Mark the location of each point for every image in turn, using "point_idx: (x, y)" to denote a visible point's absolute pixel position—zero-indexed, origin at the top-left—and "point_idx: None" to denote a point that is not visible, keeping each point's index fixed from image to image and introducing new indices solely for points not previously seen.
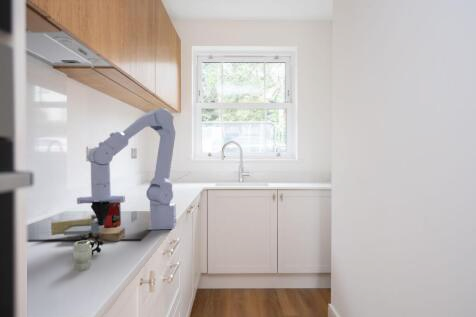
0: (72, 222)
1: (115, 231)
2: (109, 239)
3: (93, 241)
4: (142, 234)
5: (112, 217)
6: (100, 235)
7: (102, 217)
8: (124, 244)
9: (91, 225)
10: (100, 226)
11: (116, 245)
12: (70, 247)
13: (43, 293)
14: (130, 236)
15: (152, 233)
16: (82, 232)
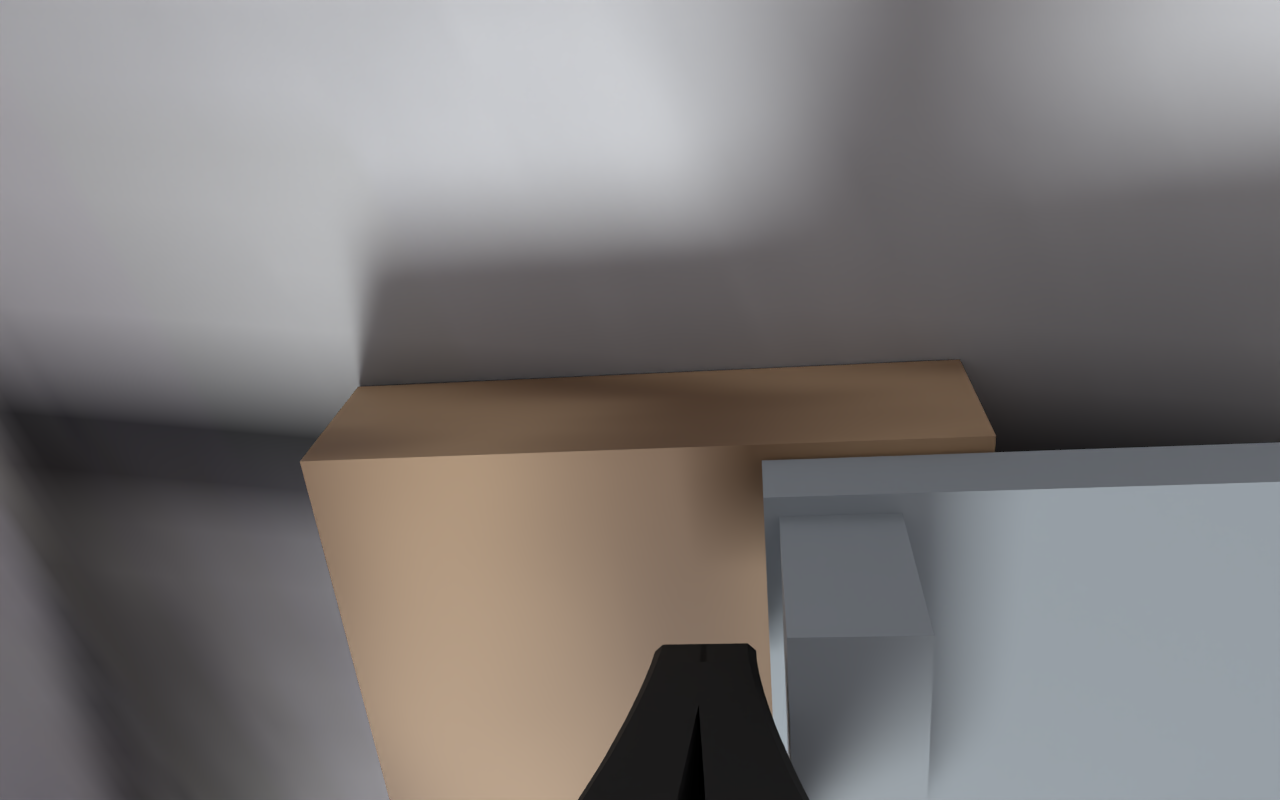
0: None
1: (430, 578)
2: (514, 394)
3: (823, 369)
4: (155, 701)
5: None
6: None
7: (621, 773)
8: (143, 185)
9: (911, 584)
10: (787, 733)
11: (263, 132)
12: (1191, 54)
13: None
14: (297, 624)
15: (24, 730)
16: (1099, 464)
